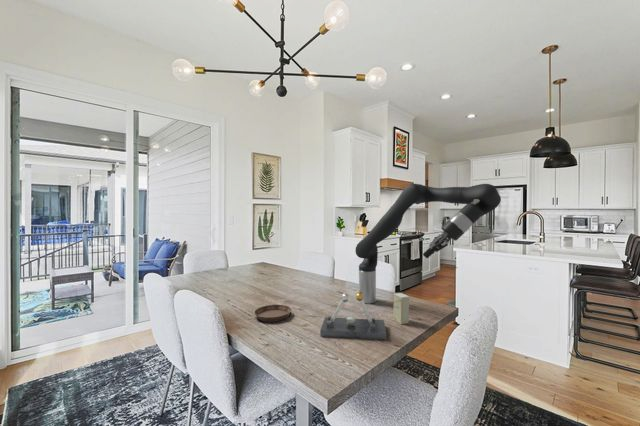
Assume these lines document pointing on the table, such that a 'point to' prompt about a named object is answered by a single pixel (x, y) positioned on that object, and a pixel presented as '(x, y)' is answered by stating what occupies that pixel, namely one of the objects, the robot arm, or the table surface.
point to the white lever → (344, 299)
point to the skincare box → (401, 308)
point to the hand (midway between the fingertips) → (424, 256)
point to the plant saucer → (272, 312)
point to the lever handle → (364, 306)
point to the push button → (351, 320)
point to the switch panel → (353, 329)
